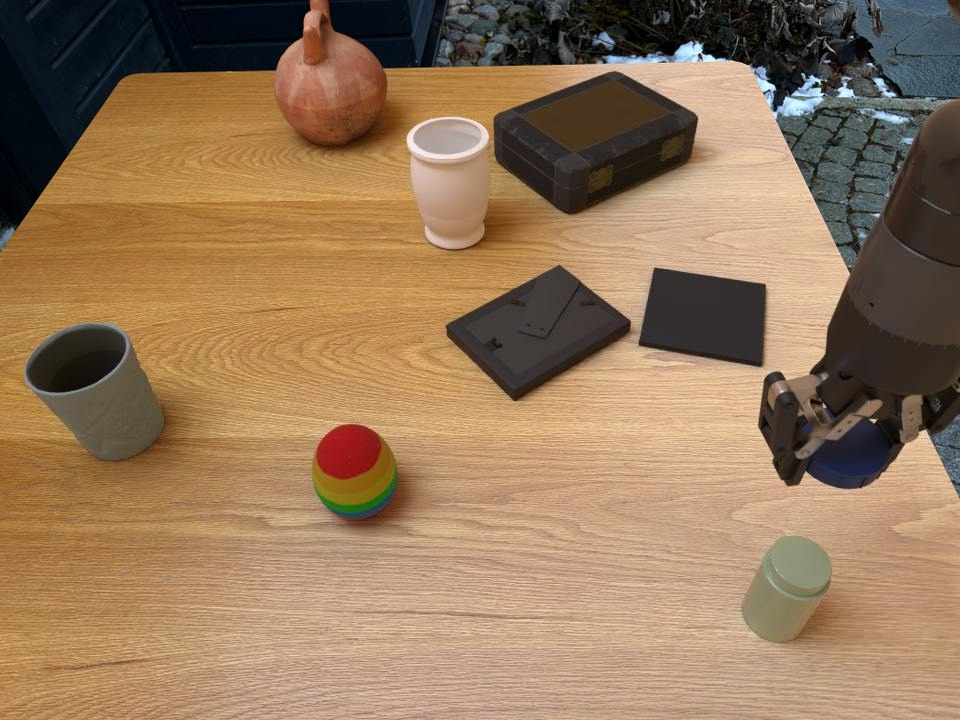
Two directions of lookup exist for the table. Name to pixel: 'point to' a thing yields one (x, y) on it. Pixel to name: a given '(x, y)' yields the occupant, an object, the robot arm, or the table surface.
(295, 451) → the table surface
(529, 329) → the picture frame
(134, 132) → the table surface
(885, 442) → the lid
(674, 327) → the mat
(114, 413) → the grey cup
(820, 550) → the spice jar
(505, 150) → the cash box
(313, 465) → the decorative egg
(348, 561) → the table surface
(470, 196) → the jar
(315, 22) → the jug
